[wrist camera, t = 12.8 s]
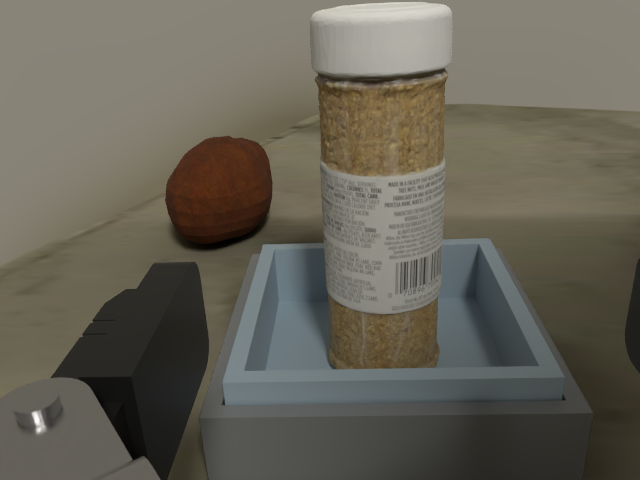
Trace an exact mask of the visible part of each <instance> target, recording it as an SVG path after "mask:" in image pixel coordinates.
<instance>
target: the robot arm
mask: <svg viewBox="0 0 640 480" xmlns="http://www.w3.org/2000/svg"><path fill="white" fill-rule="evenodd" d="M625 342H626V348H627V352H628V355H629V358H630V360H631V362H632V363H633V365H634V366H635V368H636V369H637V370H638V372H639V373H640V258H639V260H638V263H637V267H636V272H635V278H634V283H633V289H632V294H631V300H630V305H629V311H628V316H627V322H626V328H625ZM208 353H209V338H208V329H207V322H206V315H205V308H204V301H203V294H202V286H201V279H200V273H199V269H198V266H197V264H196V263H195V262H173V263H154V264H153V265H152V266H151V268H150V269H149V271H148V272H147V274H146V276H145V277H144V279H143V280H142V282H141V283H140V285H139V286H138V288H137V289H126V290H124V291H123V292H121V293H120V294H118V295H117V296H115V297H114V298H112V299H111V300H109V301H108V302H106V303H105V304H104V305H103V307H102V308H101V309H100V311H99V312H98V313H97V315H96V316H95V318H94V319H93V323H90V324H89V326H88V327H87V329H86V330H85V331H84V333H83V337H80V338H79V340H78V341H77V342H76V344H75V345H74V346H73V348H72V349H71V351H70V352H69V353H68V355H67V356H66V357H65V359H64V360H63V362H62V363H61V364H60V366H59V367H58V368H57V370H56V371H55V373H54V374H53V375H52V377H51V378H49V379H43V380H39V381H35V382H32V383H29V384H26V385H24V386H21V387H19V388H17V389H15V390H13V391H11V392H9V393H8V394H6V395H4V396H3V397H1V398H0V480H167V478H168V475H169V472H170V469H171V467H172V464H173V461H174V458H175V455H176V452H177V450H178V447H179V444H180V441H181V438H182V435H183V432H184V430H185V427H186V424H187V421H188V418H189V415H190V413H191V410H192V407H193V404H194V401H195V398H196V396H197V393H198V390H199V387H200V384H201V381H202V378H203V376H204V373H205V370H206V367H207V362H208Z"/></svg>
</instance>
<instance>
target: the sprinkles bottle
mask: <svg viewBox="0 0 640 480" xmlns="http://www.w3.org/2000/svg"><path fill="white" fill-rule="evenodd" d="M310 41H311V43H310V44H311V60H312V61H311V62H312V69H313V70H314V71H315V72H317V73H318V76H317V77H316V78H315V82H316V83H317V85H318V88H319V104H320V105H319V111H320V128H321V157H320V172H321V192H322V213H323V235H324V252H325V271H326V287H327V290H328V300H329V317H330V341H329V349H328V351H329V359H330V363H331V364H332V365H333V366H334V367H335V368H336V369H395V368H435V366H436V365H437V362H438V356H439V354H440V348H439V345H438V342H437V320H438V314H437V313H438V295H439V293H440V289H441V274H442V249H443V220H444V192H445V157H444V156H443V155H444V153H443V148H444V103H445V96H444V92H445V82H446V79H447V78H448V73H447V71H445V67H447V66H448V65H449V64H450V63H451V61H452V60H451V59H452V12H451V9H450V8H449V7H448V6H446V5H443V4H430V3H425V2H399V3H398V2H397V3H396V2H395V3H374V4H359V5H348V6H339V7H334V8H332V9H324V10H320V11H318V12H315V13H314V14H313V15H312V17H311V20H310Z"/></svg>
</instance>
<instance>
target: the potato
mask: <svg viewBox="0 0 640 480" xmlns="http://www.w3.org/2000/svg"><path fill="white" fill-rule="evenodd" d="M271 199H272V177H271V170H270V164H269V159H268V157H267V155H266V152H265V150H264V149H263V148H262V147H261V146H260V145H259V144H258V143H257V142H254V141H251V140H248V139H244V138H236V139H234V138H232V137H230V136H224V137H213V138H209V139H206V140H204V141H203V142H201V143H200V144H198V145H197V146H195V147H194V148H192V149H191V150H190V151H188V152H187V153H186V154H185V155H184V156H183V158H182V159H181V161H180V162H179V164H178V165H177V167H176V169H175V170H174V172H173V173H172V175H171V176H170V178H169V179H168V182H167V187H166V199H165V201H166V205H167V210H168V214H169V216H170V218H171V221H172V223H173V225H174V226H175V228H176V229H177V231H178V232H179V233H180V234H181V235H182V236H183V237H184V238H185V239H187V240H189V241H191V242H195V243H198V244H210V243H216V242H221V241H224V240H227V239H230V238H235V237H239V236H242V235H245V234H247V233H249V232H250V231H252V230H253V229H254V228H255V227H256V226H257V225H259V223H260V222H261V221H262V220H263V219H264V217H265V216H266V215H267V213H268V212H269V208H270V204H271Z"/></svg>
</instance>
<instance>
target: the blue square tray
mask: <svg viewBox="0 0 640 480" xmlns="http://www.w3.org/2000/svg"><path fill="white" fill-rule="evenodd" d="M437 314H438V320H437V342H438V345H439V348H440V354H439V356H438V362H437V365H436V366H435V368H395V369H336V368H335V367H334V366H333V365H332V364H331V363H330V359H329V351H328V349H329V341H330V317H329V300H328V290H327V287H326V271H325V252H324V243H303V244H266V245H263V247H262V250H261V254H252V256H251V259H250V262H249V265H248V268H247V271H246V274H245V278H244V281H243V284H242V287H241V290H240V293H239V296H238V299H237V302H236V305H235V308H234V311H233V314H232V318H231V321H230V324H229V327H228V330H227V333H226V336H225V339H224V342H223V345H222V348H221V351H220V354H219V357H218V361H217V364H216V367H215V370H214V373H213V376H212V379H211V382H210V385H209V388H208V391H207V394H206V397H205V401H204V404H203V407H202V410H201V413H200V416H199V423H200V429H201V435H202V442H203V448H204V454H205V461H206V467H207V473H208V479H209V480H582V478H583V472H584V466H585V460H586V454H587V448H588V443H589V437H590V431H591V425H592V419H593V411H592V410H591V408H590V406H589V404H588V403H587V401H586V399H585V397H584V396H583V394H582V392H581V390H580V388H579V387H578V385H577V383H576V381H575V380H574V378H573V376H572V374H571V372H570V371H569V369H568V367H567V365H566V364H565V362H564V360H563V358H562V357H561V355H560V353H559V351H558V349H557V348H556V346H555V344H554V342H553V341H552V339H551V337H550V335H549V333H548V332H547V330H546V328H545V326H544V325H543V323H542V321H541V319H540V318H539V316H538V314H537V312H536V310H535V309H534V307H533V305H532V303H531V302H530V300H529V298H528V296H527V294H526V293H525V291H524V289H523V287H522V286H521V284H520V282H519V280H518V279H517V277H516V275H515V273H514V271H513V270H512V268H511V266H510V264H509V263H508V261H507V259H506V257H505V255H504V254H503V252H502V250H501V248H500V247H494V246H493V244H492V242H491V240H490V238H483V239H447V240H443V249H442V274H441V289H440V293H439V295H438V313H437Z"/></svg>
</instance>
